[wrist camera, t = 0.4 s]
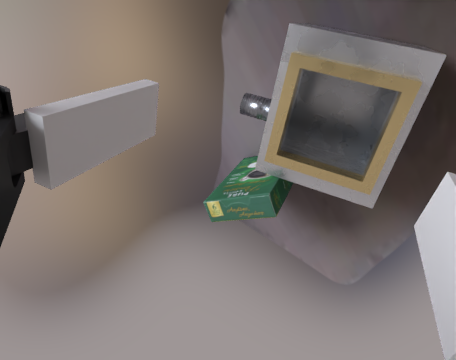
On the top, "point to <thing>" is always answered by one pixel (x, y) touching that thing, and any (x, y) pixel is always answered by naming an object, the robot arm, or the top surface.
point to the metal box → (341, 109)
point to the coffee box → (247, 194)
